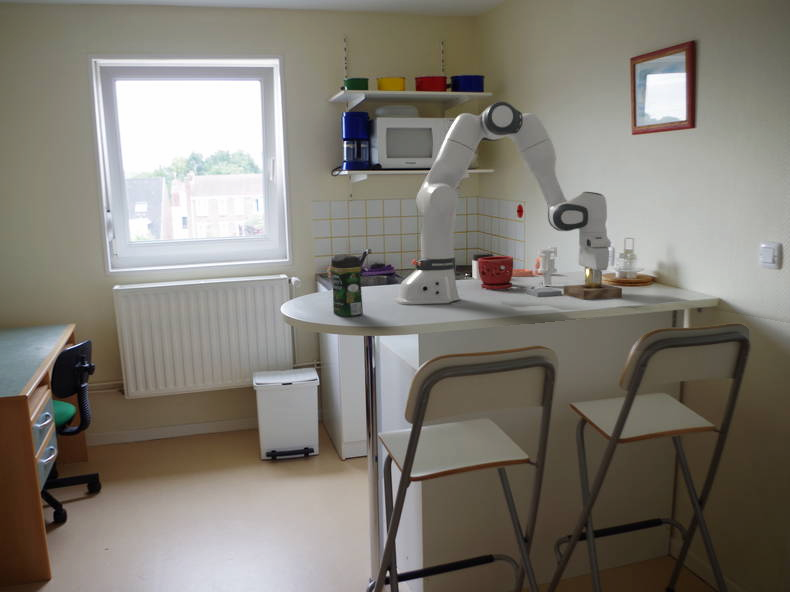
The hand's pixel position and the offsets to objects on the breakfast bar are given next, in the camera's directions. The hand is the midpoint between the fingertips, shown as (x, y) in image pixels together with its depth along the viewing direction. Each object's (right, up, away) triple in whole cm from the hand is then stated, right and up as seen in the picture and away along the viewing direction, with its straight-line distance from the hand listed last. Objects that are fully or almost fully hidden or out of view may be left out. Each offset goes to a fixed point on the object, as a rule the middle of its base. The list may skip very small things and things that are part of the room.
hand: (592, 281), depth 229 cm
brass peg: (0, -5, +1) cm, 5 cm away
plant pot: (-29, -3, +25) cm, 38 cm away
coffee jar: (-81, -11, -23) cm, 85 cm away
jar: (-31, 0, +43) cm, 53 cm away
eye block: (0, -5, +1) cm, 5 cm away
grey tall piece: (-9, -2, +27) cm, 29 cm away
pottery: (-12, +1, +51) cm, 52 cm away
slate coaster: (-15, -4, +8) cm, 17 cm away
